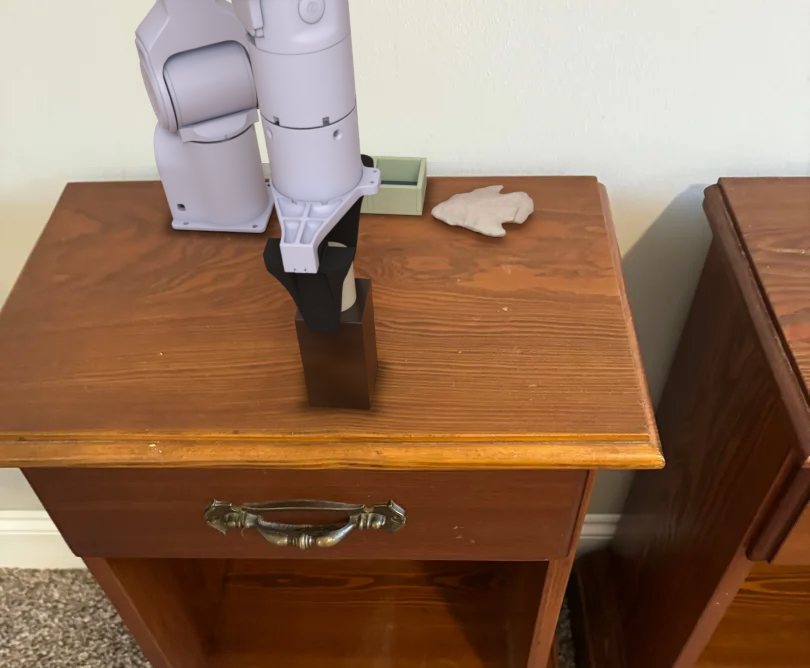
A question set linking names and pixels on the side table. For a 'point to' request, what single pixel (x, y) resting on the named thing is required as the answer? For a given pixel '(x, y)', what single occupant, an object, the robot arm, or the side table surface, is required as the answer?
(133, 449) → the side table surface
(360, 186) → the robot arm
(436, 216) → the arrowhead
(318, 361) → the stand
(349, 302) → the beige cylinder
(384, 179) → the green divided box
